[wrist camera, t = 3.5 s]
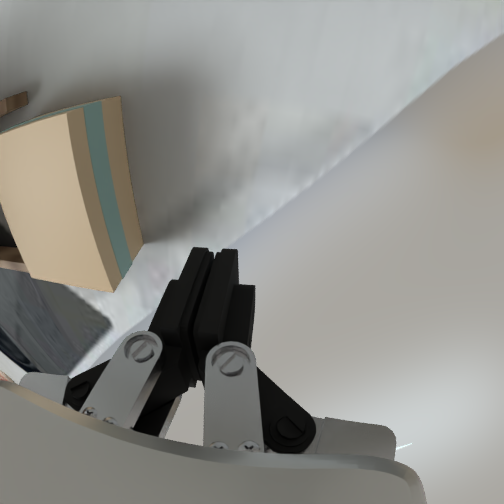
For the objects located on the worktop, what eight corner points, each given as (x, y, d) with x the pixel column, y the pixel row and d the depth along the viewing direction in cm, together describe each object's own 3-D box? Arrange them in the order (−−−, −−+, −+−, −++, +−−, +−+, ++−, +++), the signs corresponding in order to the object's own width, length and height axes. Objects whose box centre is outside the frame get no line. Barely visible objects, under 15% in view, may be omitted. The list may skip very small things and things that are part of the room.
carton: (122, 94, 15) (67, 112, 10) (145, 243, 22) (114, 293, 18) (36, 116, 16) (-16, 140, 11) (66, 237, 23) (31, 277, 18)
